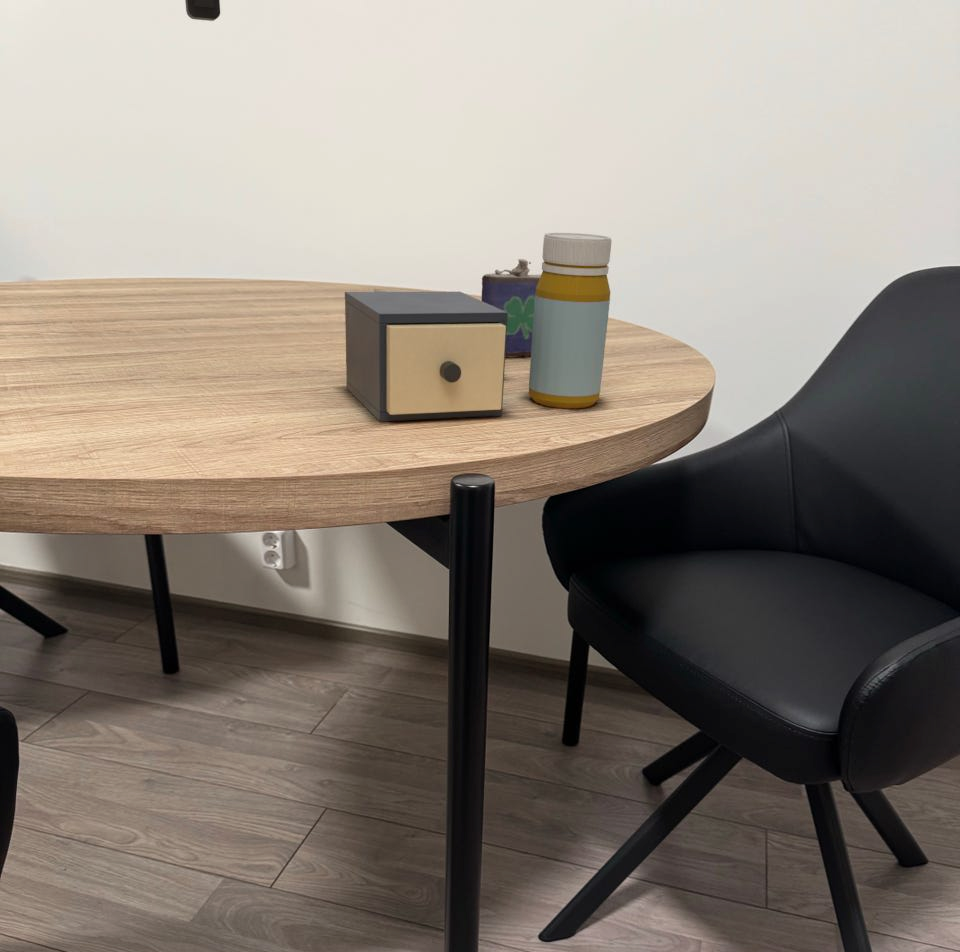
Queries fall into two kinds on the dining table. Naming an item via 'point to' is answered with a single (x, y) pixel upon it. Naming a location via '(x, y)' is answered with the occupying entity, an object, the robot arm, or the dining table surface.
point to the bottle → (570, 320)
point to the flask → (514, 304)
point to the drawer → (444, 367)
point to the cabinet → (369, 340)
